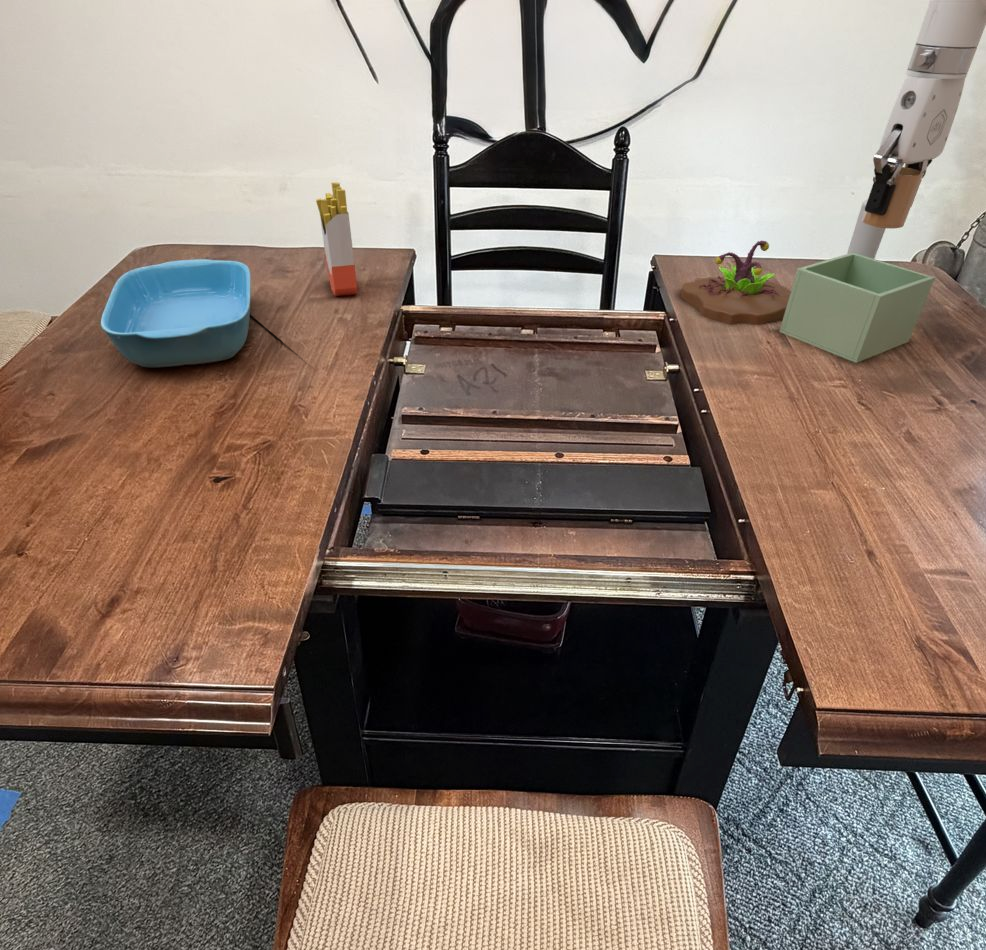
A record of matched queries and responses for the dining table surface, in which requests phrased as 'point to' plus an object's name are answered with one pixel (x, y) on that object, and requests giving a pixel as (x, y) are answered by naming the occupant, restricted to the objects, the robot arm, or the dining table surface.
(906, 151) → the robot arm
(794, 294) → the bin
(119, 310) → the casserole dish
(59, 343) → the dining table surface
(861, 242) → the bottle
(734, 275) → the plant
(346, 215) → the french fries container
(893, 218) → the paper cup
